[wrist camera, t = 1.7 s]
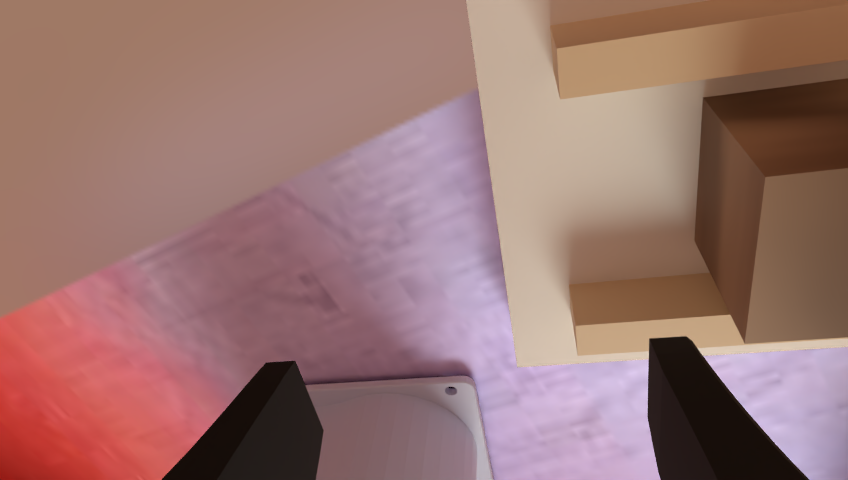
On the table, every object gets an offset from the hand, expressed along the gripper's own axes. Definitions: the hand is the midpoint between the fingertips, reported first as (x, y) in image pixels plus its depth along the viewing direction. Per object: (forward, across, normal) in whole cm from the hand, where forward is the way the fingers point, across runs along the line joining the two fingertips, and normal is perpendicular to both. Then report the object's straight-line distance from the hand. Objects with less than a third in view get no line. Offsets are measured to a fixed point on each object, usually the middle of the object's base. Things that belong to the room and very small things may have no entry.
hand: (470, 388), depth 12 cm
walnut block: (+8, -8, 0) cm, 11 cm away
